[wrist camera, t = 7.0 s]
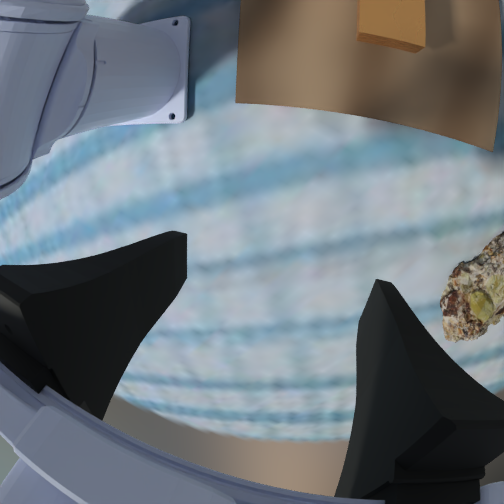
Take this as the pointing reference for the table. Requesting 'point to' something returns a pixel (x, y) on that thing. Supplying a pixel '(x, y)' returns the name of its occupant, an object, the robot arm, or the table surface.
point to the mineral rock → (475, 294)
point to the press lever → (392, 23)
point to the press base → (376, 65)
